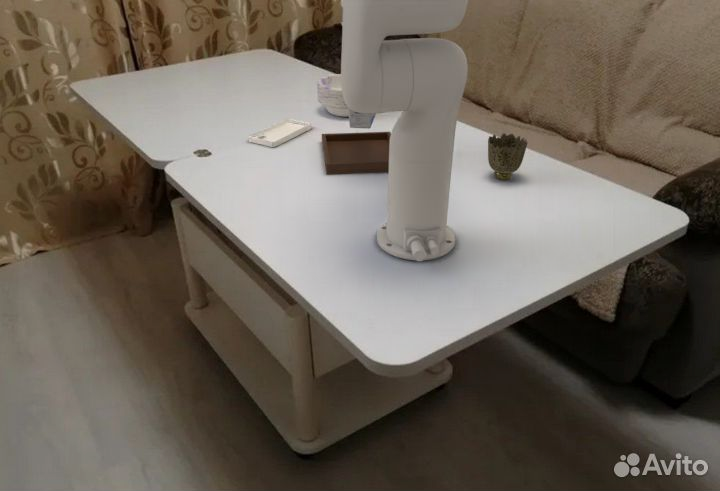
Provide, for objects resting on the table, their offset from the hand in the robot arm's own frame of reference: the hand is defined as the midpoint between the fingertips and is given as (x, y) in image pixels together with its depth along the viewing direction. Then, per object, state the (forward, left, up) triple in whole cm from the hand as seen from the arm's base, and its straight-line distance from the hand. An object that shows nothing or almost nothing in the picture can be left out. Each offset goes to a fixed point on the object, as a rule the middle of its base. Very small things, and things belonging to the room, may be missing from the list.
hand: (360, 105), depth 122 cm
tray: (0, 0, -11) cm, 11 cm away
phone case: (+15, +17, -11) cm, 25 cm away
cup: (-14, -27, -11) cm, 32 cm away
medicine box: (0, 0, -4) cm, 4 cm away
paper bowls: (+31, 0, -11) cm, 33 cm away
